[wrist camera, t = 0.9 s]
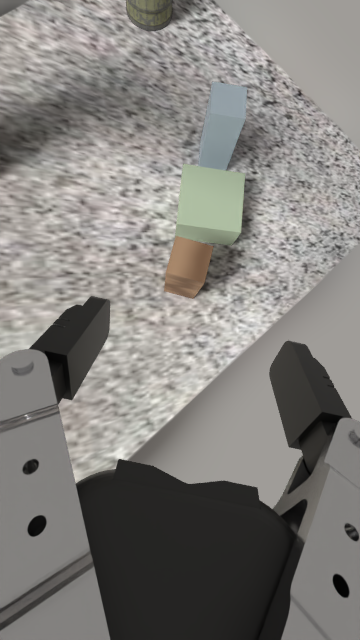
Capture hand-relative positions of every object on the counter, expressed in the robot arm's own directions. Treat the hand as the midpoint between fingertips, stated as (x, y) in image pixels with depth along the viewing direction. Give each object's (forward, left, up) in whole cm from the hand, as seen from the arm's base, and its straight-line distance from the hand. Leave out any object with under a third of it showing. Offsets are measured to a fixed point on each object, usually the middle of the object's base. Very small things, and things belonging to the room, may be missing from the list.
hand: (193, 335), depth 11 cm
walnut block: (-8, +6, -28) cm, 30 cm away
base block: (-18, +15, -28) cm, 37 cm away
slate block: (-27, +21, -28) cm, 44 cm away
